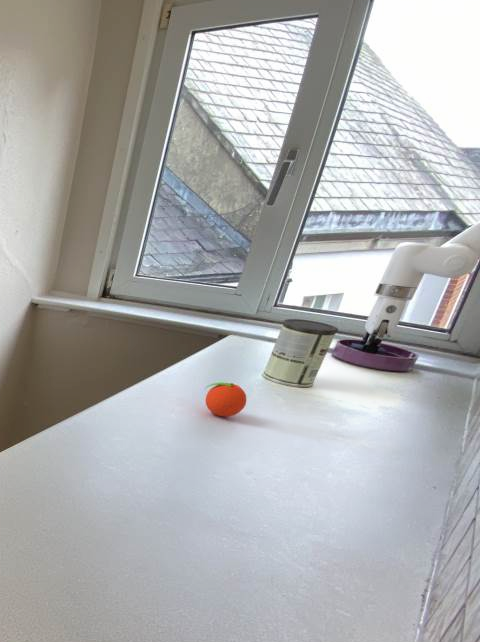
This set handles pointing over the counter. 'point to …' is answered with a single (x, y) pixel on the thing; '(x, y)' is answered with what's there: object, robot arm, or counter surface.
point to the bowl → (375, 356)
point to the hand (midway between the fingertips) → (363, 356)
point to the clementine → (225, 399)
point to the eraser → (359, 347)
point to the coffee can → (299, 352)
